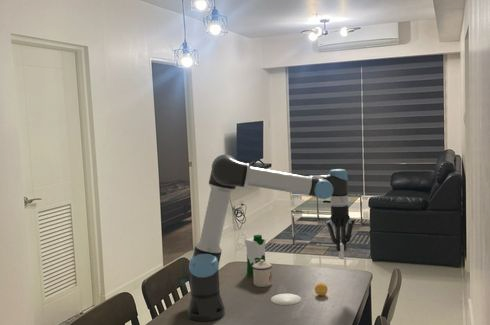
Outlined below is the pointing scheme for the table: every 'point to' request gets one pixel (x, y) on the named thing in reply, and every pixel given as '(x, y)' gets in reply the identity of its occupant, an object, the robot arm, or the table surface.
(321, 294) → the ball
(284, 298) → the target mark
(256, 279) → the teacup with lid
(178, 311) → the table surface
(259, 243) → the milk carton
